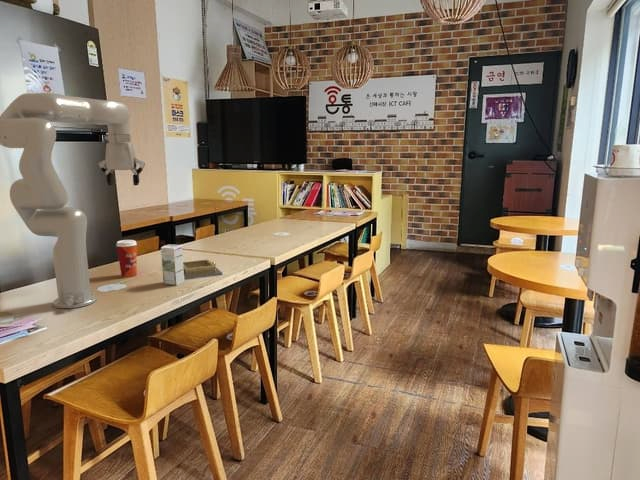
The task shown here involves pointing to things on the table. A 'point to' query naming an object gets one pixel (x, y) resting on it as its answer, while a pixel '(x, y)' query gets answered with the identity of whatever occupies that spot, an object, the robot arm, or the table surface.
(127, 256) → the paper cup
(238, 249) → the table surface
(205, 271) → the gray gold framed panel
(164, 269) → the syrup box
